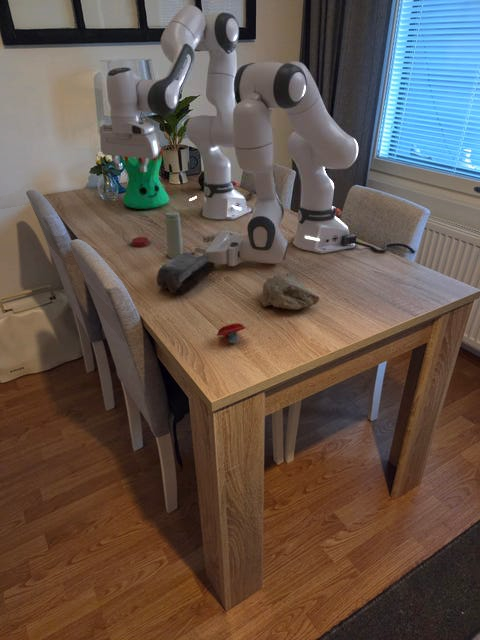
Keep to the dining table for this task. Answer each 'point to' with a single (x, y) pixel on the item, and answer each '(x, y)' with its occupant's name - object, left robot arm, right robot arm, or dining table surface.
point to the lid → (140, 241)
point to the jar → (173, 234)
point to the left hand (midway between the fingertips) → (131, 170)
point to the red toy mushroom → (231, 331)
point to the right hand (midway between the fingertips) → (199, 243)
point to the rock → (184, 272)
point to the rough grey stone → (287, 293)
